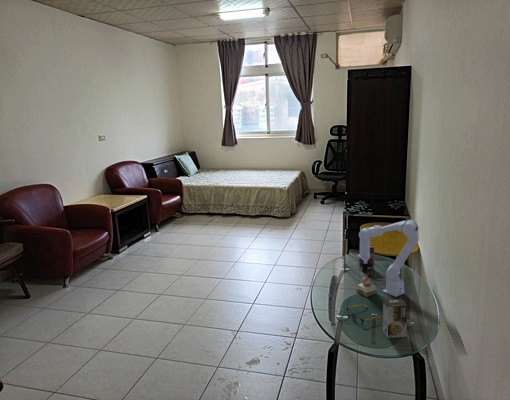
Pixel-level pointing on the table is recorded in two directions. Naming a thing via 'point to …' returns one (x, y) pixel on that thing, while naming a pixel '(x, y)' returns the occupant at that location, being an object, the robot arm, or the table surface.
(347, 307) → the eyeglasses
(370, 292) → the walnut base slab
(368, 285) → the salmon pink cylinder
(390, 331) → the coffee box
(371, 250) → the supplement box
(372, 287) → the sage top slab
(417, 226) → the robot arm
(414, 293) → the table surface
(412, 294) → the table surface
